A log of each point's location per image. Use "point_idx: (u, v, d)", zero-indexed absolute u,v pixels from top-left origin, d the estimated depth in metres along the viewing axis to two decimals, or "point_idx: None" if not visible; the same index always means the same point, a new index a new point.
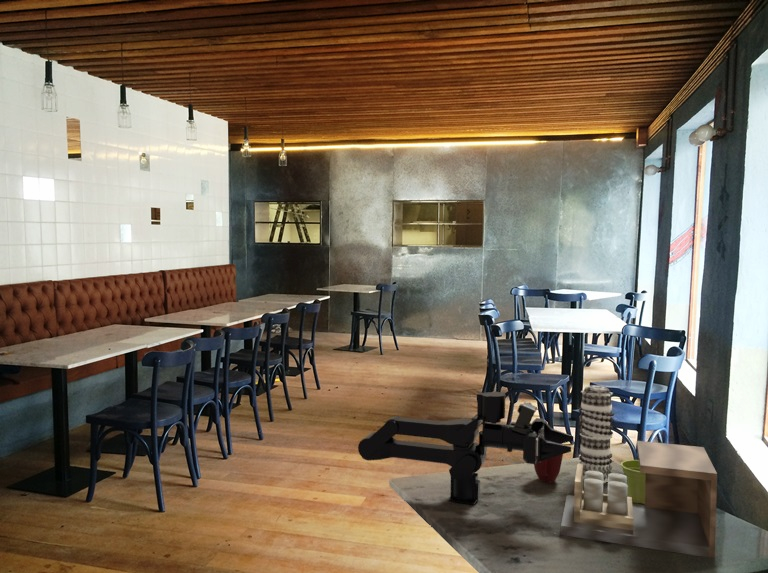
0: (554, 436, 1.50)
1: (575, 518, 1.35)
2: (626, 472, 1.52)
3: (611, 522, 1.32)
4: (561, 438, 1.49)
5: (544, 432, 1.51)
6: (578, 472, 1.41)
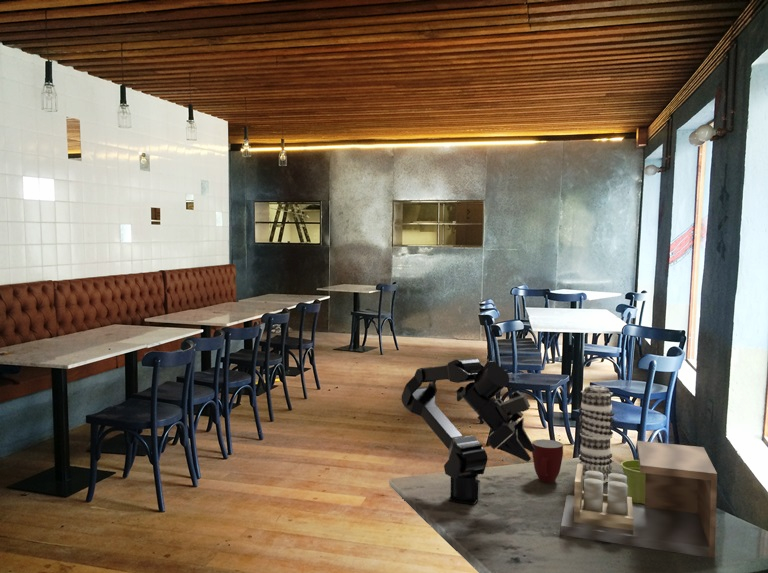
0: (520, 436, 1.49)
1: (575, 518, 1.35)
2: (626, 472, 1.52)
3: (611, 522, 1.32)
4: (524, 442, 1.49)
5: (515, 426, 1.50)
6: (578, 472, 1.41)
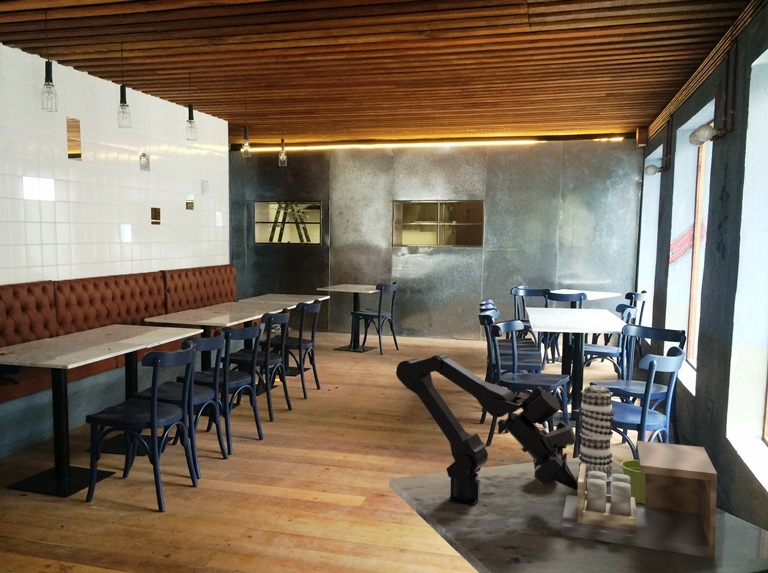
0: None
1: (578, 518, 1.35)
2: (626, 472, 1.52)
3: (614, 523, 1.32)
4: None
5: None
6: (581, 472, 1.40)
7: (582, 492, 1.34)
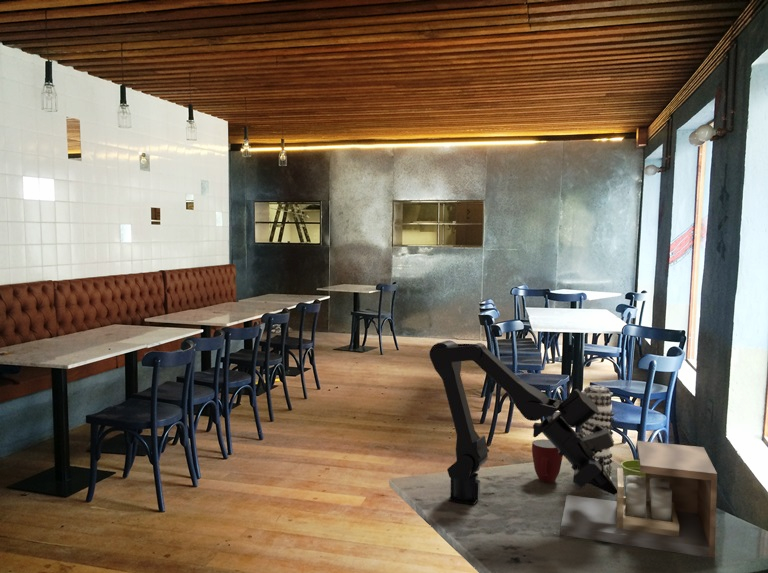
0: None
1: (618, 524, 1.32)
2: (626, 472, 1.52)
3: (656, 528, 1.29)
4: None
5: None
6: (619, 476, 1.38)
7: (622, 497, 1.31)
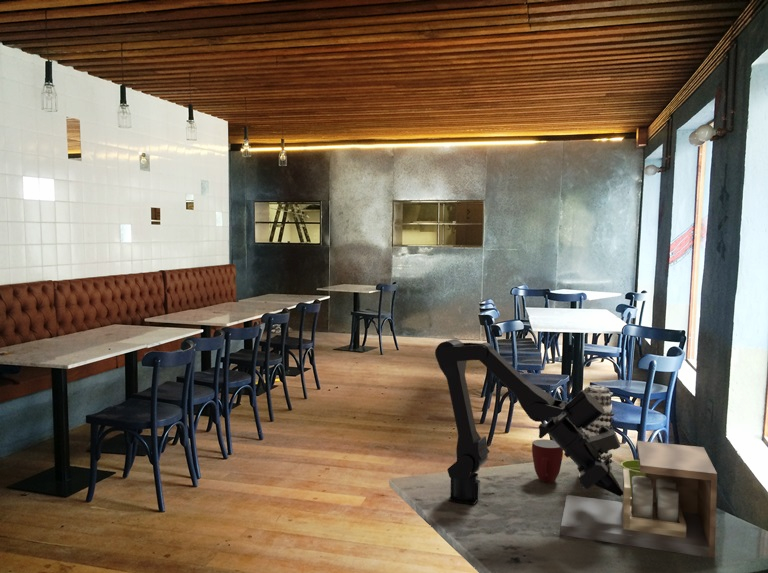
0: None
1: (625, 525, 1.31)
2: None
3: (662, 529, 1.29)
4: None
5: None
6: (625, 477, 1.37)
7: (629, 498, 1.31)
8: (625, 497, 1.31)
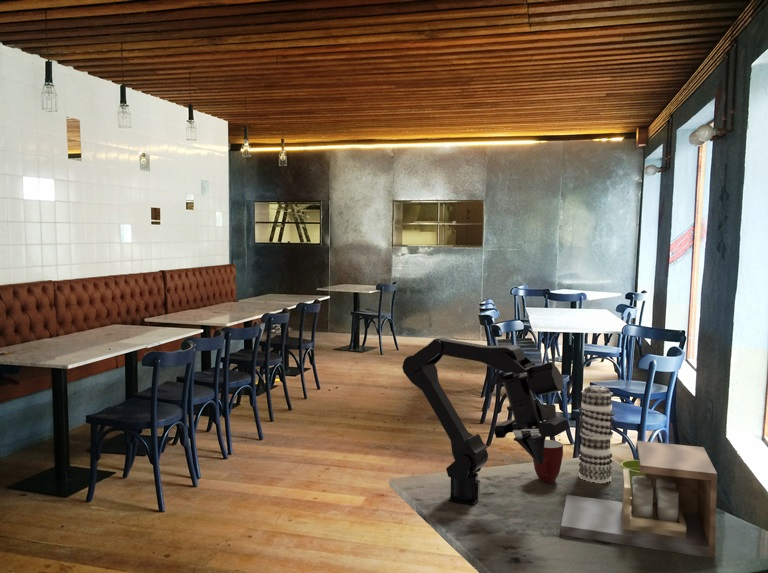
0: None
1: (625, 525, 1.31)
2: None
3: (662, 529, 1.29)
4: None
5: (531, 434, 1.45)
6: (625, 477, 1.37)
7: (629, 498, 1.31)
8: (625, 497, 1.31)
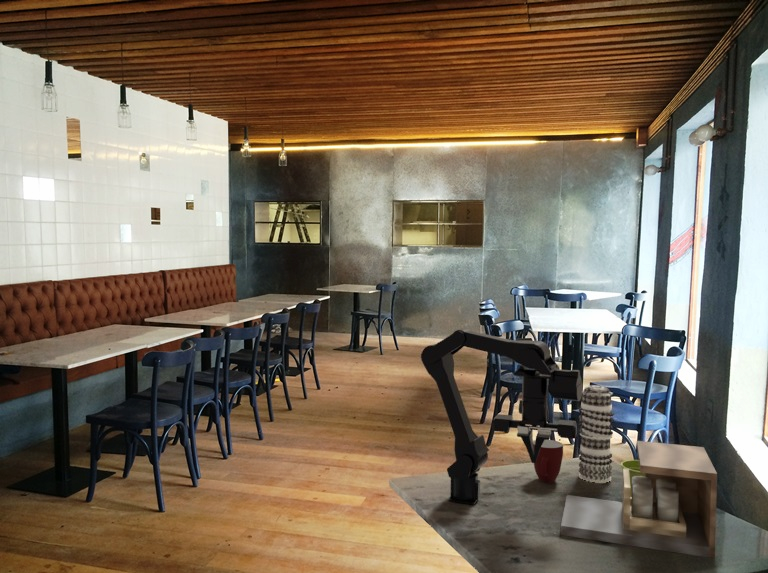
0: (532, 443, 1.44)
1: (625, 525, 1.31)
2: None
3: (662, 529, 1.29)
4: (532, 451, 1.44)
5: (530, 432, 1.45)
6: (625, 477, 1.37)
7: (629, 498, 1.31)
8: (625, 497, 1.31)
